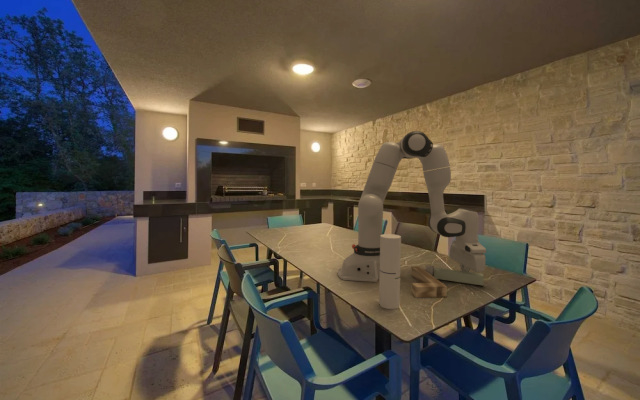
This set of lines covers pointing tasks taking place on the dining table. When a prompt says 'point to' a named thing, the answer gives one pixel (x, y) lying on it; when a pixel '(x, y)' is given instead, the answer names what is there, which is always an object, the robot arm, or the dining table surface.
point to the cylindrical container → (390, 271)
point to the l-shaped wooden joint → (426, 284)
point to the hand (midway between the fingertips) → (464, 274)
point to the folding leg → (456, 275)
